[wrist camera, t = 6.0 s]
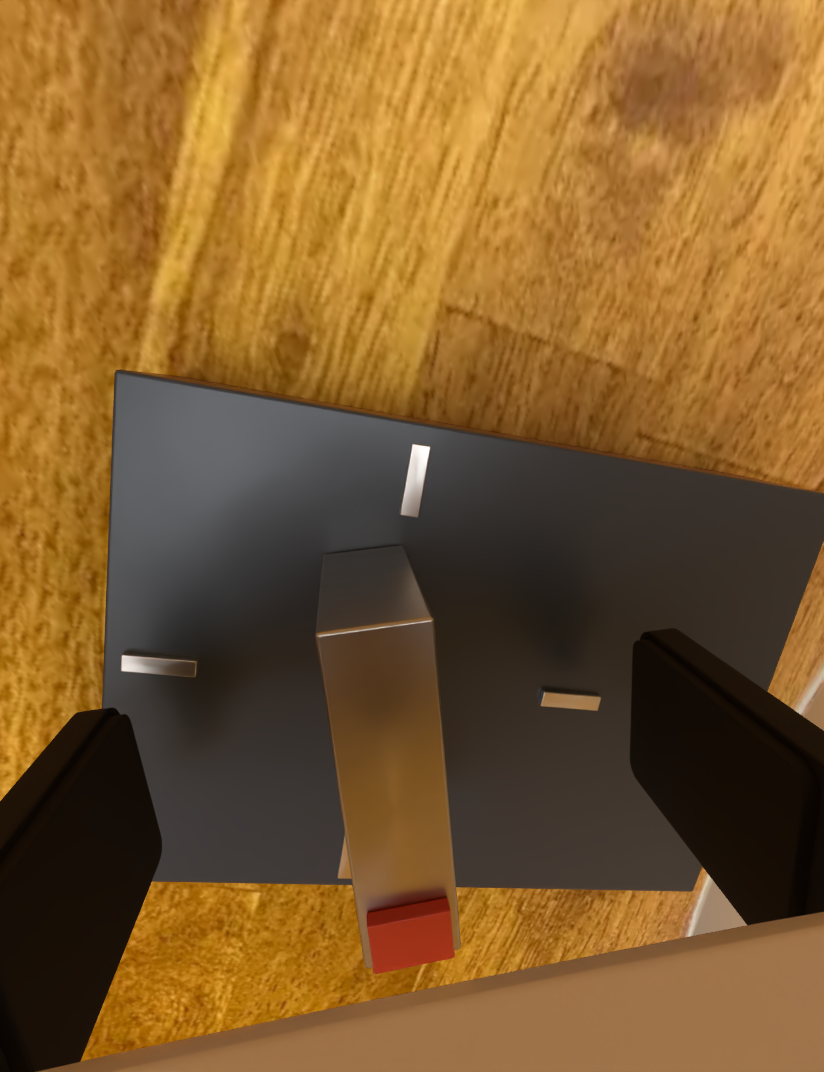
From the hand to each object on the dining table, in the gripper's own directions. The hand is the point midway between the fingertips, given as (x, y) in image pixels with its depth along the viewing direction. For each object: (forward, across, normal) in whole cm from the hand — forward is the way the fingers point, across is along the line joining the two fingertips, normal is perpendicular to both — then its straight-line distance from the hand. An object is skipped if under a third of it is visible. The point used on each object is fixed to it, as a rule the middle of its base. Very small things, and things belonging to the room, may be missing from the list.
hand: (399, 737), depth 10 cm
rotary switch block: (+5, -2, 0) cm, 5 cm away
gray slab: (+2, 0, 0) cm, 2 cm away
